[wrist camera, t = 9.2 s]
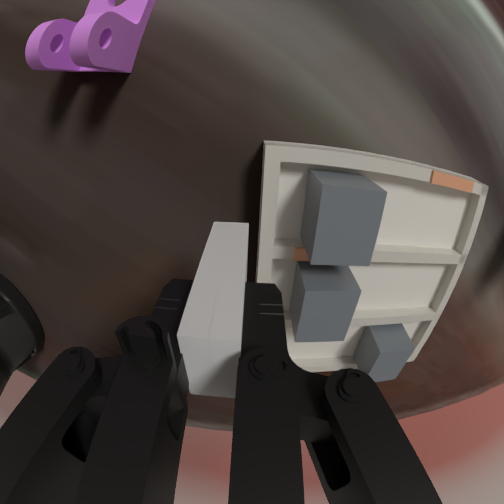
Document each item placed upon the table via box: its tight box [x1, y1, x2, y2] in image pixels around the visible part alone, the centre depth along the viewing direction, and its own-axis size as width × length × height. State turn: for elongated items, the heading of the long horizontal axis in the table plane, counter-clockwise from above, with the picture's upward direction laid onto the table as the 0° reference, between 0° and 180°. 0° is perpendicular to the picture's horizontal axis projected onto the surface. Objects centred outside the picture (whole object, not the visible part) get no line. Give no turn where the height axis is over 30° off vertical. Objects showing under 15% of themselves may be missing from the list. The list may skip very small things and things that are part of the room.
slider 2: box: [289, 261, 361, 342], centre depth 20 cm, size 4×5×4 cm
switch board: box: [255, 141, 489, 372], centre depth 22 cm, size 20×22×3 cm
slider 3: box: [354, 323, 415, 382], centre depth 24 cm, size 4×5×4 cm
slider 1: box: [300, 169, 387, 266], centre depth 17 cm, size 4×5×4 cm
